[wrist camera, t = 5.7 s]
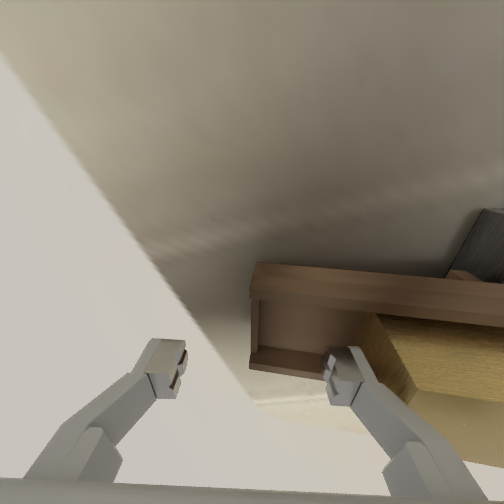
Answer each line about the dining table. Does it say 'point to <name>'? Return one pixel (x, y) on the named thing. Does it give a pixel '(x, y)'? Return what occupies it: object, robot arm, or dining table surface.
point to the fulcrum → (484, 248)
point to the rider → (443, 377)
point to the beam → (350, 309)
